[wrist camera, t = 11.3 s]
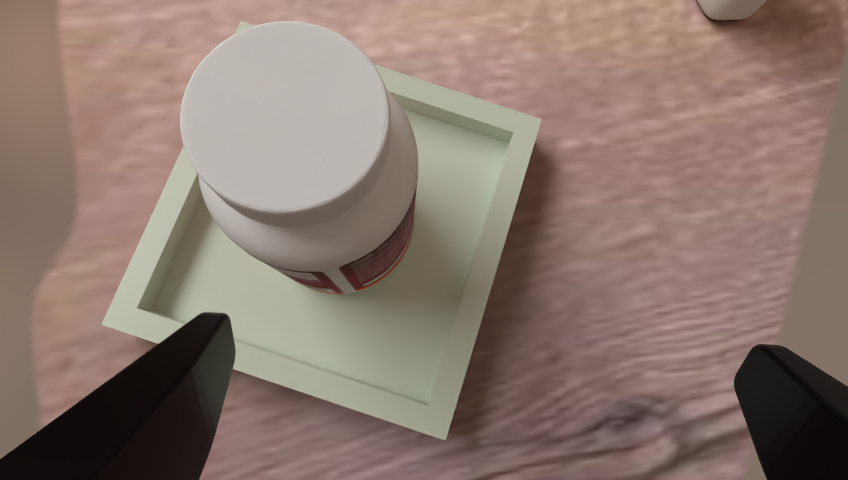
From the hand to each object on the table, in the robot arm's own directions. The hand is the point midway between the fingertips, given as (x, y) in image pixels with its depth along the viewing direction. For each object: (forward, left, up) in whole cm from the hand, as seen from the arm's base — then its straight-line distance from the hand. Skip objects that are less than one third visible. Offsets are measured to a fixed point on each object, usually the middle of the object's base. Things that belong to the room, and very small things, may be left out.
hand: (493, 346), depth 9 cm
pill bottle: (+4, +6, -13) cm, 15 cm away
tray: (+4, +6, -14) cm, 15 cm away
